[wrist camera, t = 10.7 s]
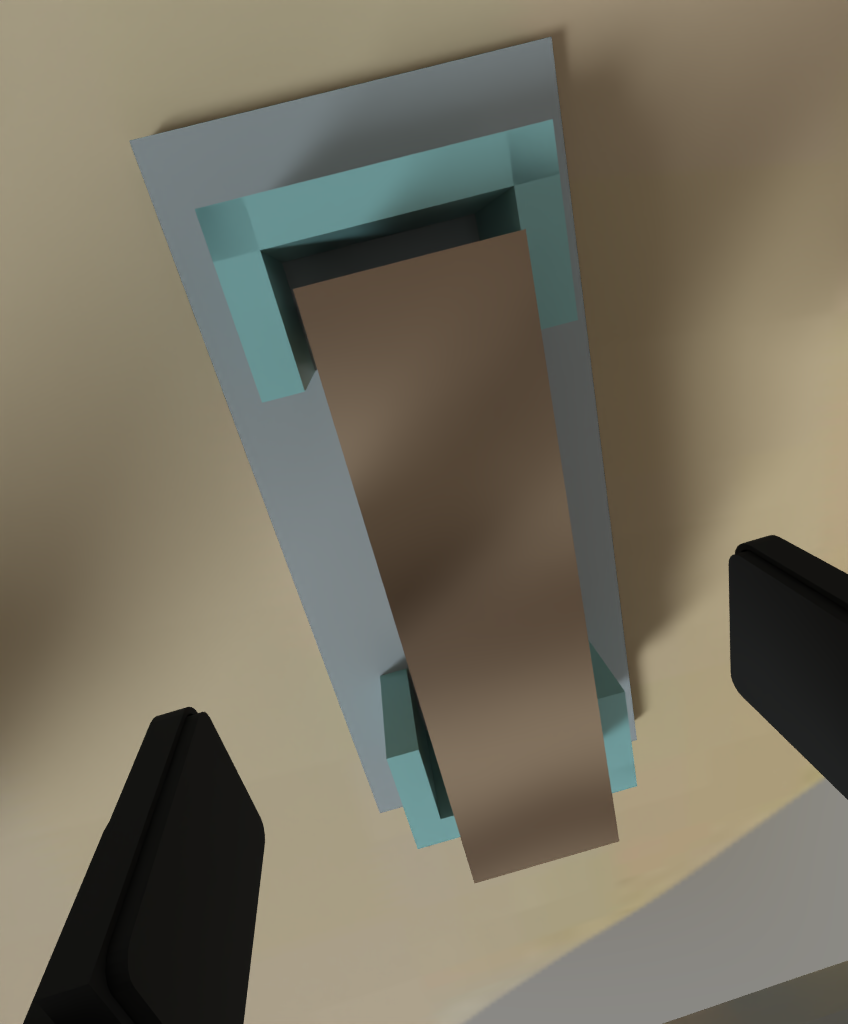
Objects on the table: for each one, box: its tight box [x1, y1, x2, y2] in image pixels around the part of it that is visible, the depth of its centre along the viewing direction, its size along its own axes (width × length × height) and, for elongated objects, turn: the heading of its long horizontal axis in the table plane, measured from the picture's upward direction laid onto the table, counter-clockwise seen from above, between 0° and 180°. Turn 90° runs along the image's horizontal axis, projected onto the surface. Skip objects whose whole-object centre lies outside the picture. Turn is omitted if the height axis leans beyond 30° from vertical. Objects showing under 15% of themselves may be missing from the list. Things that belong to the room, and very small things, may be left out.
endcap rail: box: [130, 37, 637, 849], centre depth 17 cm, size 24×11×5 cm, turn 13°
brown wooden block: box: [293, 229, 619, 883], centre depth 15 cm, size 15×4×7 cm, turn 13°
